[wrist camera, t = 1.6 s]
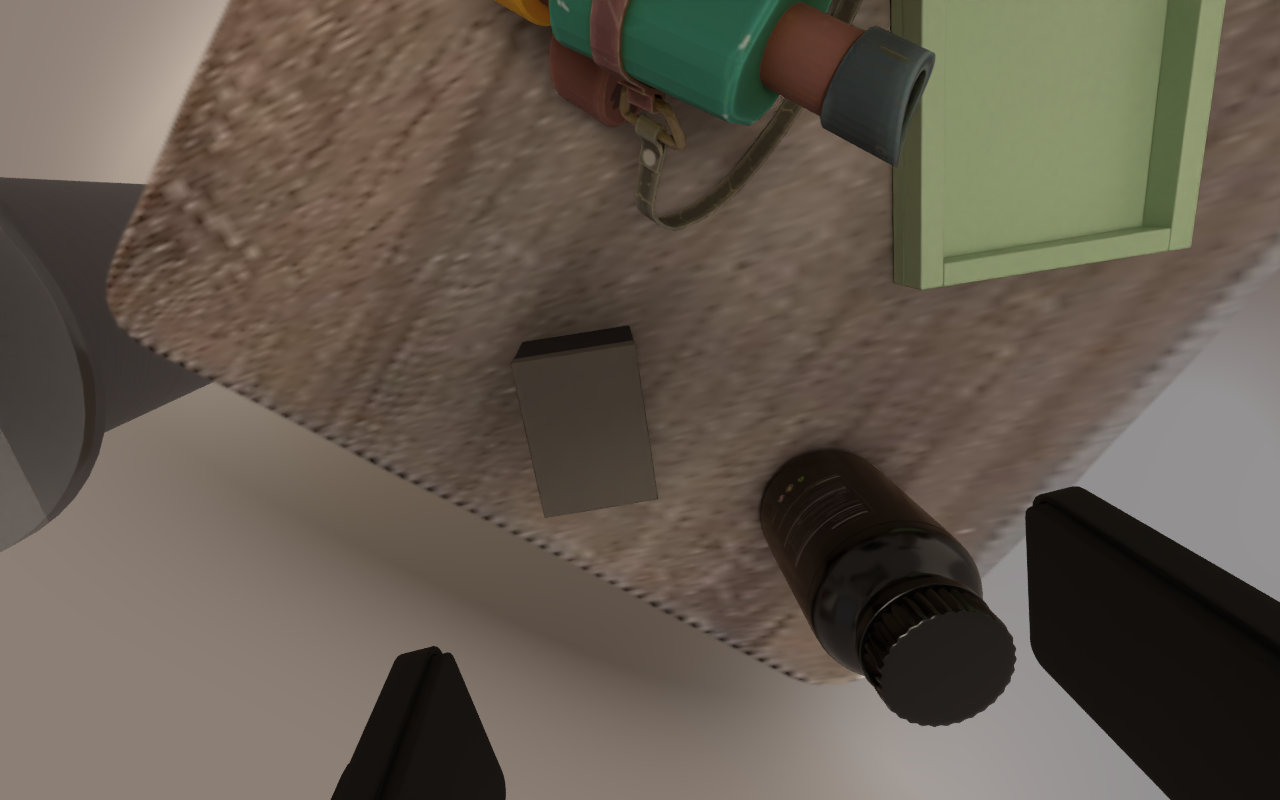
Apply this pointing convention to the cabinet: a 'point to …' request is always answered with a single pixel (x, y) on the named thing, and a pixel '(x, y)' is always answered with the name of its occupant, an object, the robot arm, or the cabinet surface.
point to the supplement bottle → (886, 588)
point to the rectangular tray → (1051, 134)
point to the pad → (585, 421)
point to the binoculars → (730, 75)
